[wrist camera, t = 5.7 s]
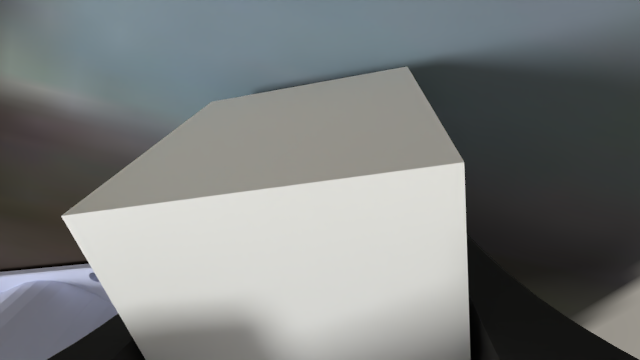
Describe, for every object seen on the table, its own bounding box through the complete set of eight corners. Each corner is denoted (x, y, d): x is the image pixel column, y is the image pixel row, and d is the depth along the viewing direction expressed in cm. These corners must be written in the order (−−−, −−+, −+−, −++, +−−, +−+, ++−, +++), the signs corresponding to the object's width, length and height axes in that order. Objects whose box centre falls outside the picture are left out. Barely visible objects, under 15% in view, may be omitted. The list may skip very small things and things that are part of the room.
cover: (281, 312, 16) (232, 507, 10) (211, 101, 12) (61, 216, 6) (429, 301, 14) (475, 513, 9) (407, 66, 11) (464, 161, 5)
